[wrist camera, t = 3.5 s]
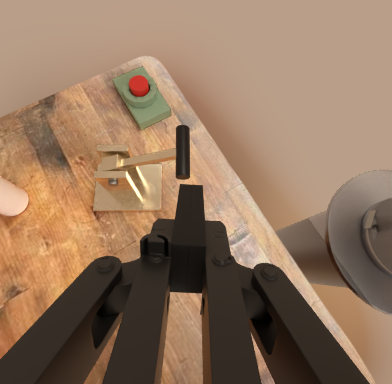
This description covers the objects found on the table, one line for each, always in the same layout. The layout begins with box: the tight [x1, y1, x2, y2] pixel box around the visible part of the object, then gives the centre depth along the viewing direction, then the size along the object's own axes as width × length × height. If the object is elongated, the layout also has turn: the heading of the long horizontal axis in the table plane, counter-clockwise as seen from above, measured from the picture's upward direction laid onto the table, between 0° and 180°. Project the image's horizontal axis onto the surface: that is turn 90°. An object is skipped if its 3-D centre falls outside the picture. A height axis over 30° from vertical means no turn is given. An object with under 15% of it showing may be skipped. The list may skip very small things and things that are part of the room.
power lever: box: [101, 125, 190, 180], centre depth 35 cm, size 13×7×2 cm, turn 91°
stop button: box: [129, 75, 149, 97], centre depth 49 cm, size 4×4×2 cm
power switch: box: [93, 145, 163, 212], centre depth 41 cm, size 12×9×13 cm
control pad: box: [112, 66, 171, 130], centre depth 51 cm, size 12×7×4 cm, turn 31°
